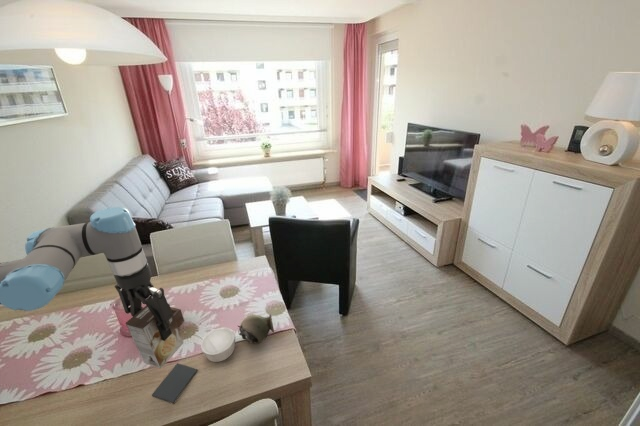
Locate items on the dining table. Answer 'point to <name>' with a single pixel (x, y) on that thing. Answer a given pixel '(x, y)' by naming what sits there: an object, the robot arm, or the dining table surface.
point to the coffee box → (153, 338)
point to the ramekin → (218, 344)
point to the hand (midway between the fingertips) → (156, 333)
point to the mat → (174, 383)
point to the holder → (177, 316)
